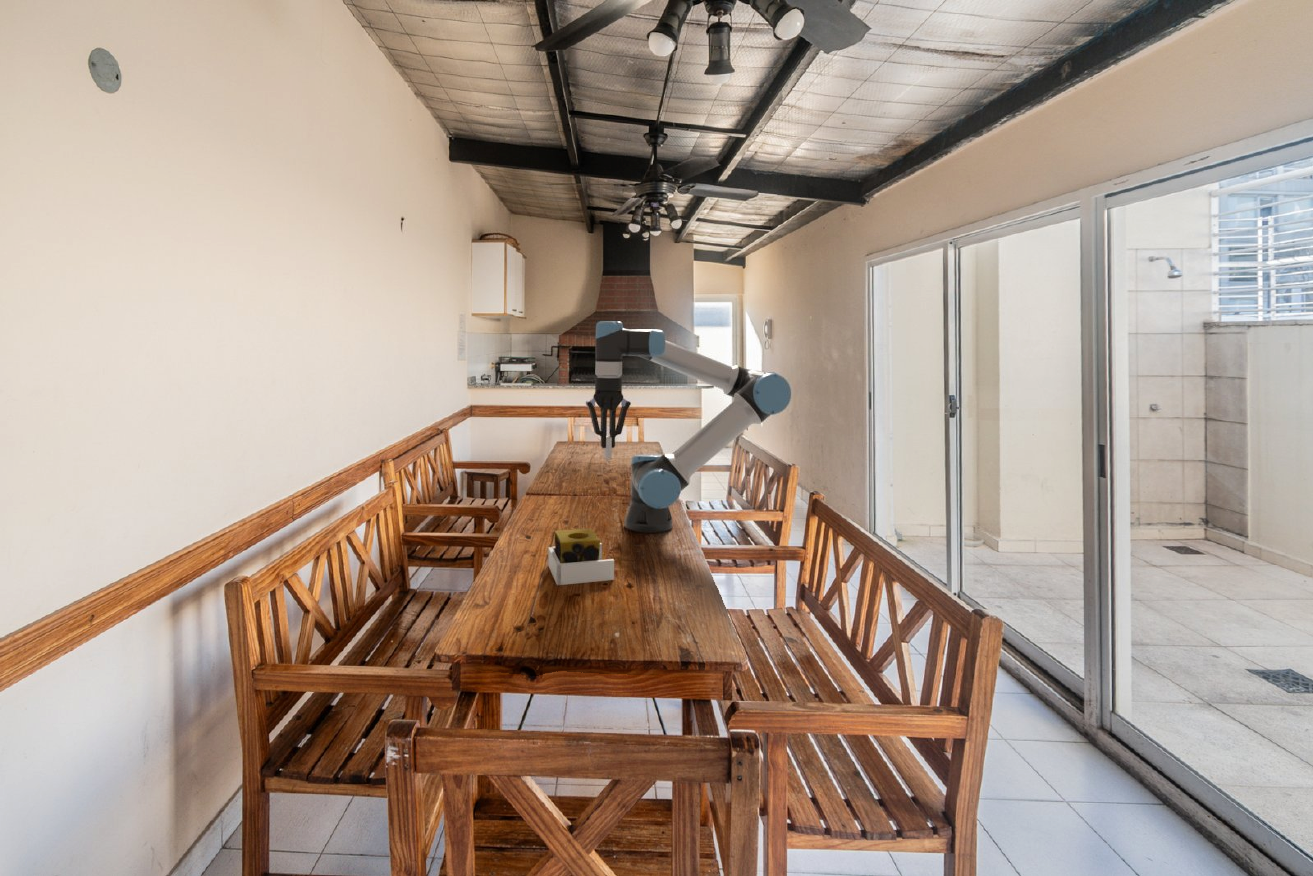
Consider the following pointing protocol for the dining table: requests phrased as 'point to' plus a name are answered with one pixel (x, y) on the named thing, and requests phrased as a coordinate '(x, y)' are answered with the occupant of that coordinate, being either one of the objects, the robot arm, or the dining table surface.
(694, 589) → the dining table surface
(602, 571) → the frame
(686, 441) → the robot arm
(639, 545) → the dining table surface
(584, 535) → the candle
